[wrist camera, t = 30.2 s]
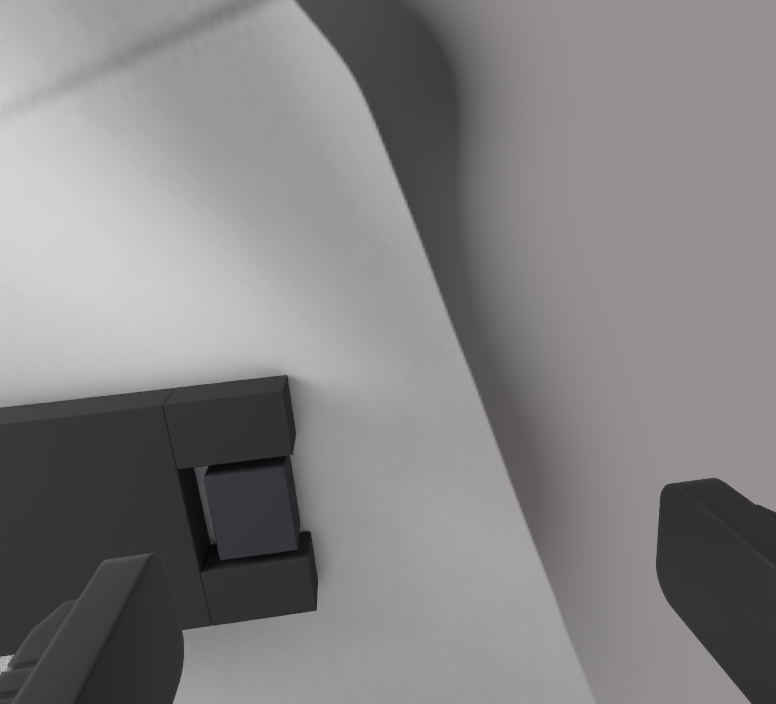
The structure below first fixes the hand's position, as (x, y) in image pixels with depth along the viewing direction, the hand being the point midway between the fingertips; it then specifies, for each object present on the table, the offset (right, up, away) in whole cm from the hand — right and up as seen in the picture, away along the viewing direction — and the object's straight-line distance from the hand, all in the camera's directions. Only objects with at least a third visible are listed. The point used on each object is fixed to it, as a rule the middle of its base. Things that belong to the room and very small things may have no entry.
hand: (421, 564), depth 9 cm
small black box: (-9, -6, +28) cm, 30 cm away
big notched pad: (-18, -7, +27) cm, 34 cm away
